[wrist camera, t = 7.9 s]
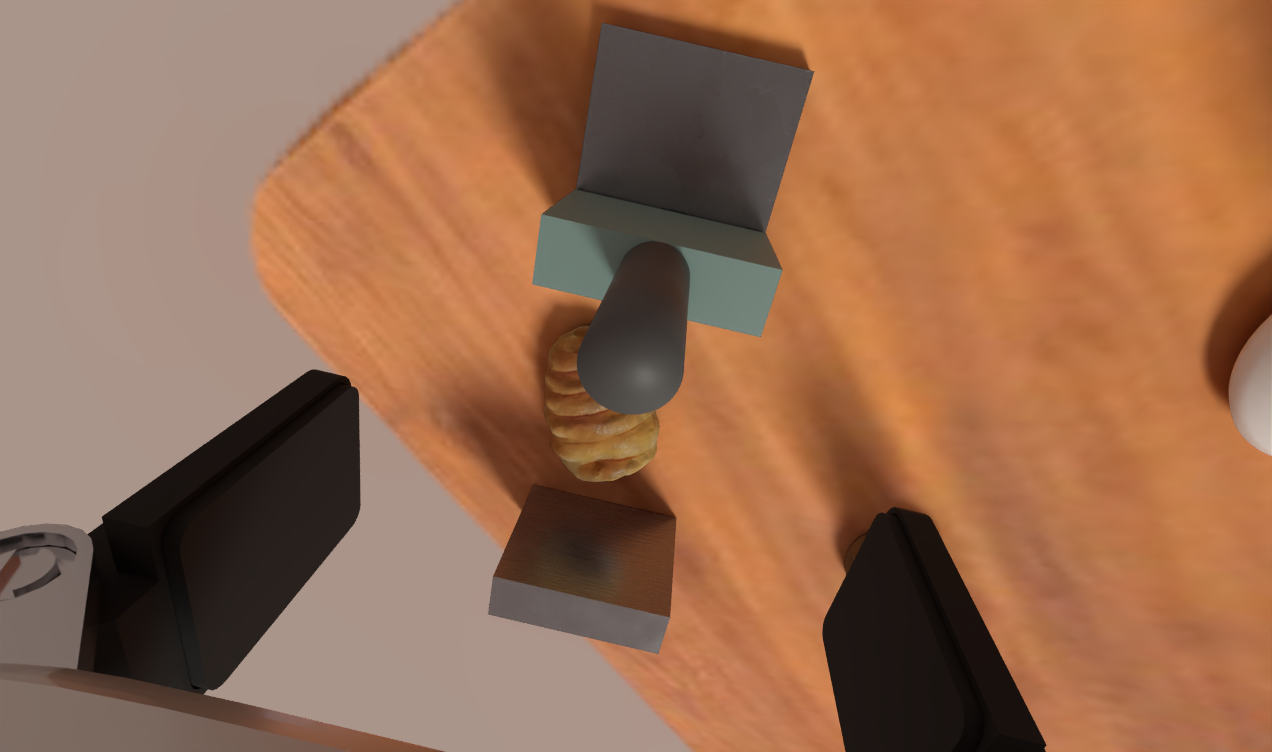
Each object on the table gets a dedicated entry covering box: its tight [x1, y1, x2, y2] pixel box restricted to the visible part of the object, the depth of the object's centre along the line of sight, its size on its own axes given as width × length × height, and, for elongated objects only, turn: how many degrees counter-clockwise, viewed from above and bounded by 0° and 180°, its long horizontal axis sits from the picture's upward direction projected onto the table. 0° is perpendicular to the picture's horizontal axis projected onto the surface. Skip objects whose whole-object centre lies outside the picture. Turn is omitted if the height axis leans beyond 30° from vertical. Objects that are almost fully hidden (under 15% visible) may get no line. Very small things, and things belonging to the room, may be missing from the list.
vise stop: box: [488, 485, 676, 654], centre depth 37 cm, size 3×10×8 cm, turn 78°
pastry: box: [544, 325, 660, 482], centre depth 35 cm, size 9×7×4 cm
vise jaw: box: [532, 189, 782, 415], centre depth 24 cm, size 3×10×16 cm, turn 78°
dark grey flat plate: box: [576, 23, 814, 233], centre depth 30 cm, size 12×10×1 cm
